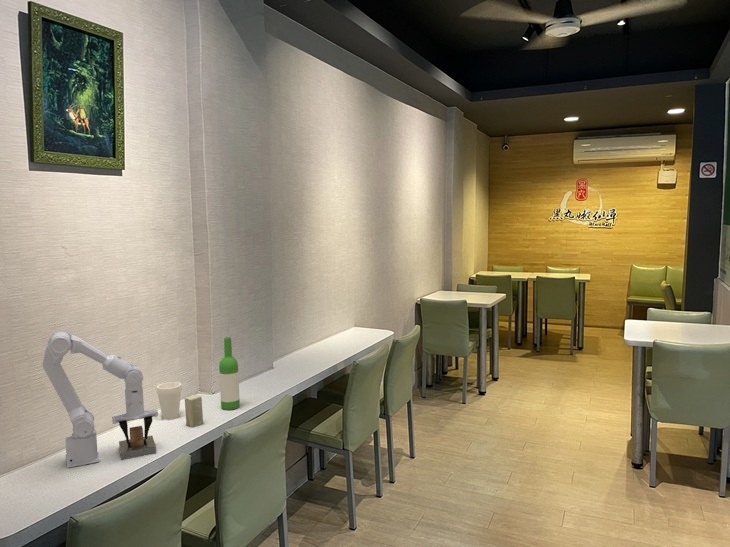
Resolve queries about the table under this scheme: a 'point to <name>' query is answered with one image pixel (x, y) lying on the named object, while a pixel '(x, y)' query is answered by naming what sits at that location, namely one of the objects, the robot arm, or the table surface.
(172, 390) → the foam cup
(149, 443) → the collar
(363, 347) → the table surface
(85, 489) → the table surface
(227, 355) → the wine bottle
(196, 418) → the box
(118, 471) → the table surface
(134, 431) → the peg
